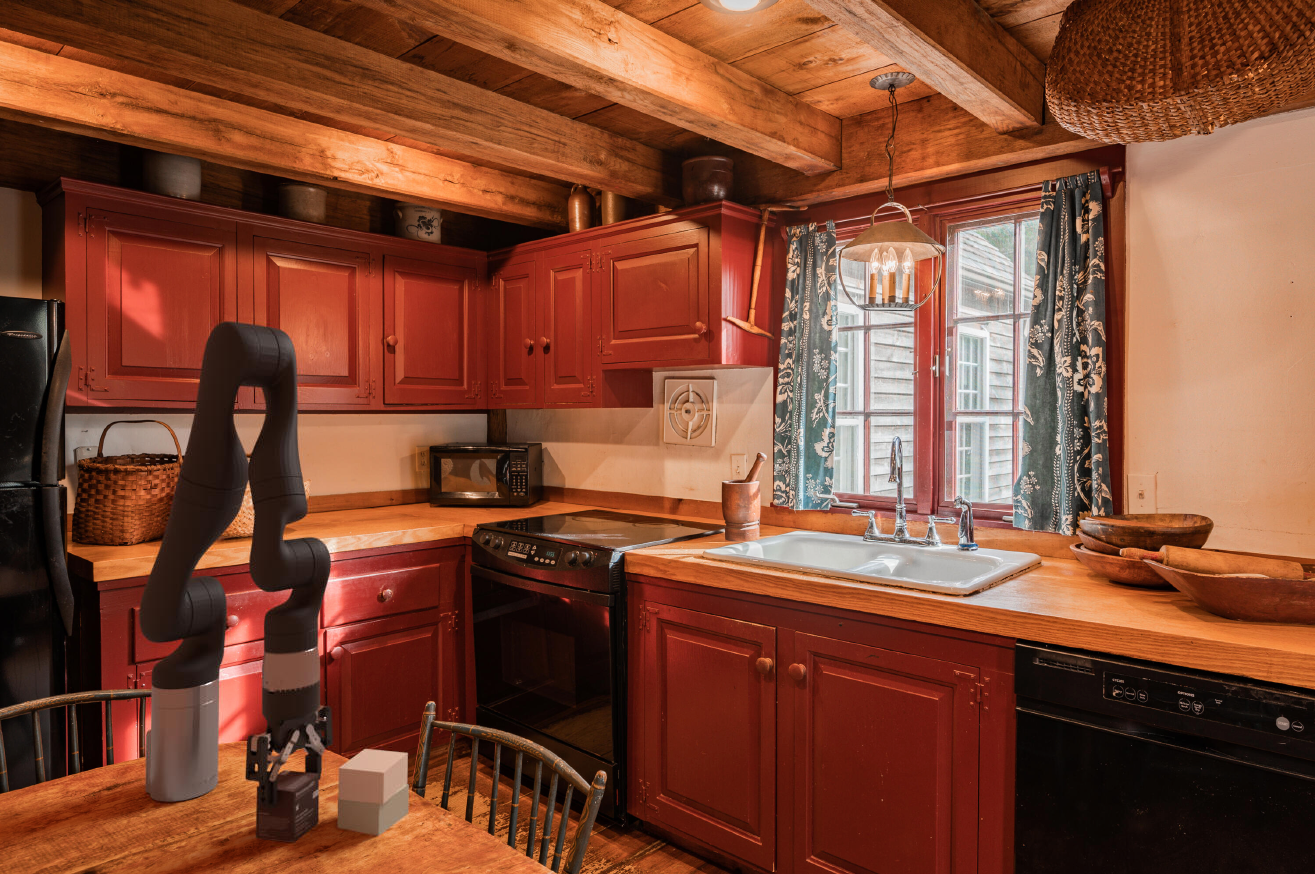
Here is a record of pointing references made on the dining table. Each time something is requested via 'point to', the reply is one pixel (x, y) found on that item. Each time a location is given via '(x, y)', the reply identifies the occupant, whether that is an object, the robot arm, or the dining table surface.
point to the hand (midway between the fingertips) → (291, 792)
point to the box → (290, 807)
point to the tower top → (373, 776)
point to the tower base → (373, 813)
